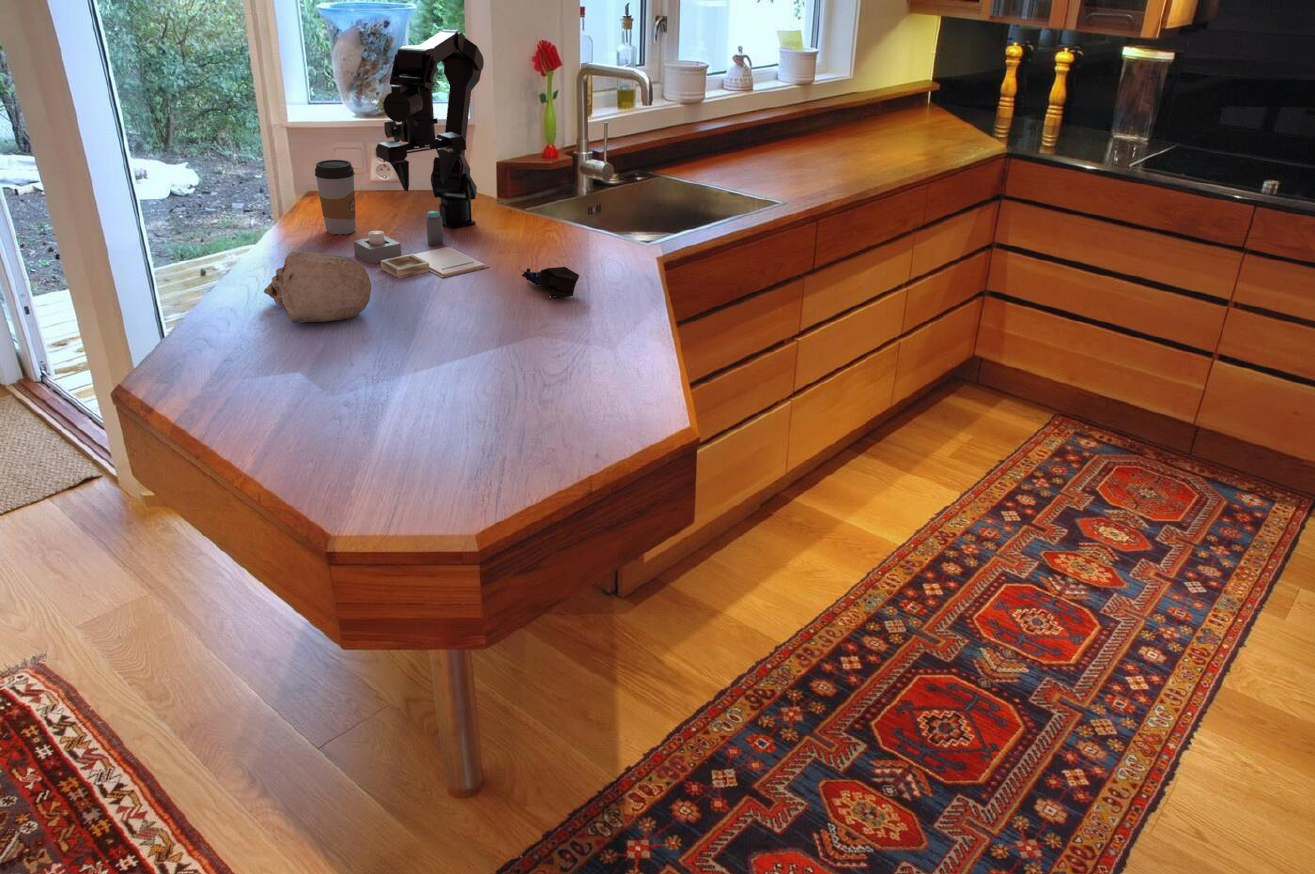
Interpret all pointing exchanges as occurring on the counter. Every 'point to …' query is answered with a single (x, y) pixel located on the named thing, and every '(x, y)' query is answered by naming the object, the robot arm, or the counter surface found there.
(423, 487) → the counter surface
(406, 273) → the holder tray
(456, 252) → the white flat rectangular panel
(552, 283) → the toy
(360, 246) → the button housing
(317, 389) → the counter surface
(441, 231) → the marker
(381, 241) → the button
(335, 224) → the coffee cup
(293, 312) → the decorative skull
